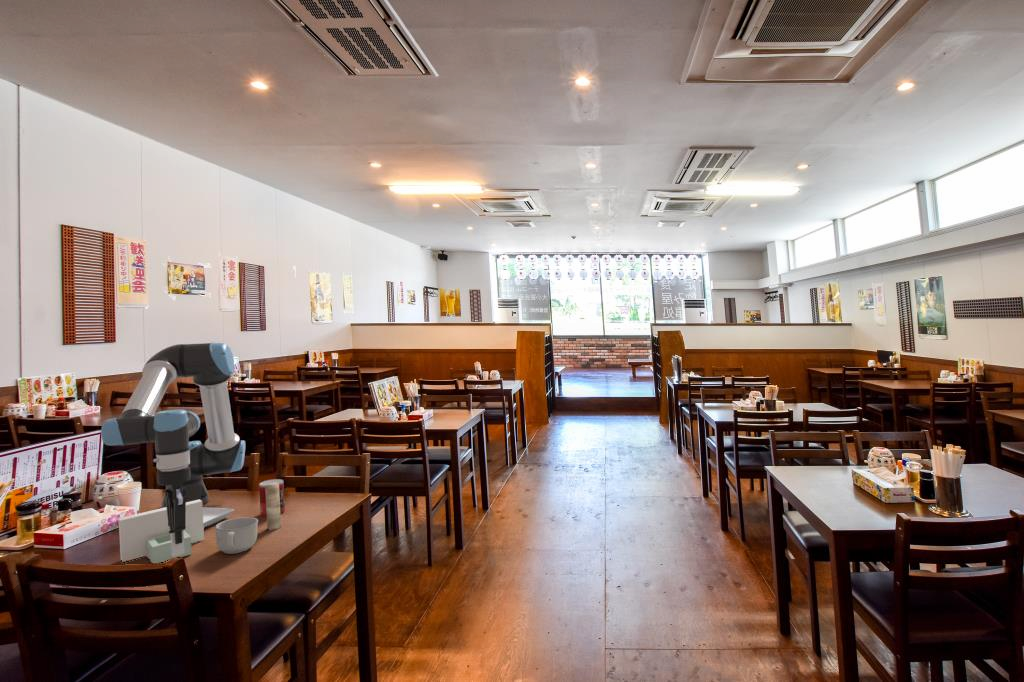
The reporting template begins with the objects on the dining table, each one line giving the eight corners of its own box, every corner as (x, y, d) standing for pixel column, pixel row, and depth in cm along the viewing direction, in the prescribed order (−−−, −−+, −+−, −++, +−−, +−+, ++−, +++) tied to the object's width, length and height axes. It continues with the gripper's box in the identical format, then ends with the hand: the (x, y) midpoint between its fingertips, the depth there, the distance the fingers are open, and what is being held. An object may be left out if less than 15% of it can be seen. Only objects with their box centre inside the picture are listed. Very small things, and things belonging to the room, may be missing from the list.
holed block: (147, 556, 141) (146, 538, 141) (183, 545, 148) (183, 529, 148) (153, 565, 135) (152, 547, 135) (191, 554, 142) (190, 536, 141)
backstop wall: (120, 560, 140) (118, 518, 140) (201, 537, 154) (199, 499, 154) (122, 563, 138) (120, 520, 138) (204, 539, 152) (202, 501, 152)
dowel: (265, 528, 160) (263, 485, 160) (278, 524, 163) (276, 482, 163) (270, 531, 157) (267, 487, 157) (282, 527, 160) (280, 484, 160)
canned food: (275, 517, 169) (274, 485, 169) (255, 516, 171) (253, 485, 171) (289, 509, 177) (288, 479, 177) (270, 509, 179) (268, 478, 178)
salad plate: (236, 517, 173) (236, 507, 172) (183, 542, 152) (183, 531, 152) (186, 515, 177) (186, 505, 177) (128, 539, 156) (128, 528, 156)
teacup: (228, 543, 149) (226, 517, 149) (265, 540, 150) (264, 514, 150) (203, 564, 135) (201, 535, 135) (244, 561, 136) (243, 532, 136)
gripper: (151, 466, 135) (156, 552, 136) (162, 475, 126) (167, 566, 127) (183, 461, 141) (188, 543, 141) (196, 468, 131) (200, 556, 132)
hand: (178, 554), depth 134 cm, fingers closed
